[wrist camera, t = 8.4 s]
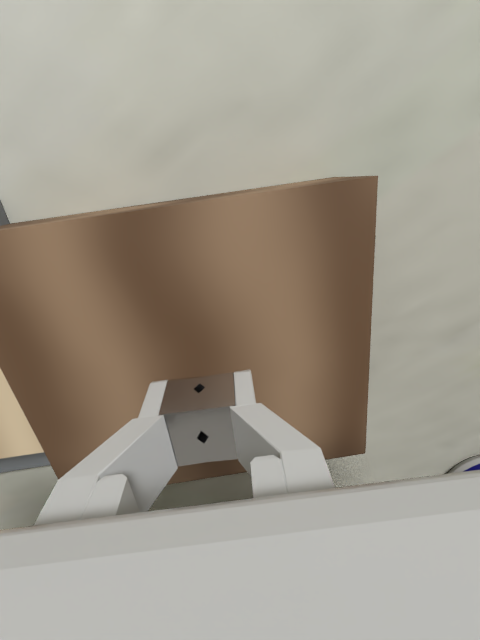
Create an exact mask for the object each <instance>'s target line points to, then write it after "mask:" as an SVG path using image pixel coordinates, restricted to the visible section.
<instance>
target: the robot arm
mask: <svg viewBox="0 0 480 640" xmlns="http://www.w3.org/2000/svg"><path fill="white" fill-rule="evenodd" d="M234 459H238V461H239V462H240V463H241V465H242V466H243V467H244V469H245V470H246V471H247V472H248V474H249V475H250V476H251V478H252V488H253V498H250V499H242V500H234V501H226V502H218V503H210V504H202V505H194V506H187V507H179V508H171V509H163V510H155V511H148V510H149V508H150V507H151V506H152V504H153V503H154V501H155V500H156V499H157V497H158V496H159V494H160V493H161V491H162V490H163V489H164V487H165V486H166V484H167V483H168V482H169V480H170V479H171V477H172V476H173V474H174V473H175V472H176V470H177V469H178V468H177V467H178V466H185V465H191V464H198V463H204V462H213V461H223V460H234ZM0 640H480V470H473V471H465V472H457V473H450V474H442V475H434V476H426V477H418V478H410V479H402V480H394V481H386V482H379V483H371V484H363V485H355V486H348V487H340V488H335V486H334V483H333V480H332V477H331V475H330V472H329V469H328V467H327V464H326V461H325V458H324V456H323V453H322V450H321V448H320V447H319V446H317V445H316V444H315V443H313V442H312V441H311V440H309V439H308V438H307V437H306V436H304V435H303V434H302V433H300V432H299V431H298V430H296V429H295V428H294V427H292V426H291V425H290V424H288V423H287V422H286V421H284V420H283V419H282V418H280V417H279V416H278V415H276V414H275V413H274V412H272V411H271V410H270V409H268V408H267V407H266V406H264V405H263V404H262V403H256V400H255V393H254V387H253V380H252V374H251V370H250V369H249V370H243V371H236V372H234V373H233V372H231V373H224V374H217V375H211V376H204V377H201V376H200V377H190V378H180V379H171V380H161V381H154V382H151V383H150V384H149V387H148V390H147V393H146V396H145V399H144V402H143V404H142V407H141V410H140V413H139V416H138V418H135V419H132V420H131V421H129V422H128V423H127V424H126V425H124V426H123V427H122V428H121V429H120V430H118V431H117V432H116V433H115V434H114V435H112V436H111V437H110V438H109V439H107V440H106V441H105V442H104V443H103V444H101V445H100V446H99V447H98V448H96V449H95V450H94V451H93V452H92V453H90V454H89V455H88V456H87V457H86V458H84V459H83V460H82V461H81V462H79V463H78V464H77V465H76V466H75V467H73V468H72V469H71V470H70V471H68V472H67V473H66V474H65V475H64V476H62V477H61V478H60V479H59V480H58V481H57V483H56V485H55V487H54V488H53V490H52V492H51V494H50V496H49V498H48V499H47V501H46V503H45V505H44V507H43V509H42V511H41V512H40V514H39V516H38V518H37V520H36V522H35V523H34V525H33V526H28V527H20V528H12V529H4V530H0Z"/></svg>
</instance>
